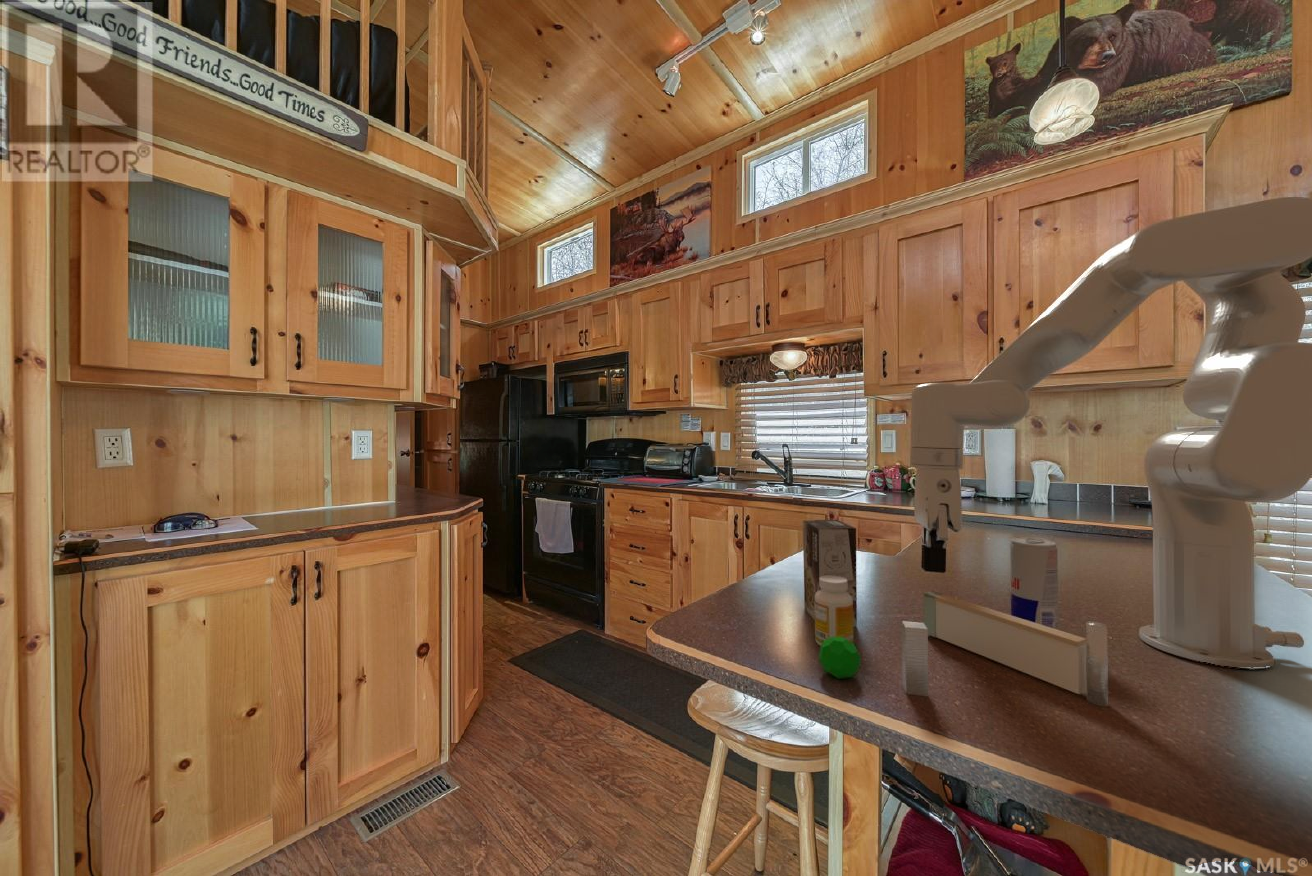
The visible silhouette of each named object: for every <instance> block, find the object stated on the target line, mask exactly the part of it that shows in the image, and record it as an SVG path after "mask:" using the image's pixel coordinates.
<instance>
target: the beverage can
mask: <svg viewBox="0 0 1312 876" xmlns="http://www.w3.org/2000/svg"><path fill="white" fill-rule="evenodd" d="M1010 540H1011V541H1010V544H1009V548H1010V551H1009V555H1010V557H1009V558H1010V561H1009V562H1010V566H1009V567H1010V615H1012V616H1015V617H1018V618H1021V619H1024V620H1028V621H1031V622H1034V623H1037V624H1041V625H1044V626H1047V627H1050V628H1053V629H1057V630H1059V581H1058V580H1059V579H1058V578H1059V573H1058V569H1059V566H1058V560H1059V558H1058V556H1059V555H1058V548H1057V543H1056V542H1055V541H1052V540H1047V539H1040V538H1034V537H1013V538H1012V539H1010Z"/></svg>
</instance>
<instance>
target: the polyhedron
mask: <svg viewBox="0 0 1312 876" xmlns="http://www.w3.org/2000/svg"><path fill="white" fill-rule="evenodd" d="M818 659H819V662H820V663H821V666H822V668H823V670H824V671H826V672H827V673H829V674H830V675H832V676H833V677H835V678H837V679H848V678H852V677H853V676H854V675H855V674H856V673H857V672H858V671H859V670H860V669H859V668H860V666H861V656H860V653H859V652H858V650H857V648H856V646H855V643H854V642H853V643H851V642H850V641H848V640H846V639H844V638H843V637H841V636H839V637H831V638H828V639H826V640H825V641H824V642H823V643H822V644H821V646H820V647H819V655H818Z"/></svg>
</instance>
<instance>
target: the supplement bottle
mask: <svg viewBox="0 0 1312 876" xmlns="http://www.w3.org/2000/svg"><path fill="white" fill-rule="evenodd" d="M819 587H820V588H821V590H819V591H817V592H816V594H815V620H814V639H815V642H816V644H817V645H818V646H820V647H821V644H822V643H823V642H824V641H825V640H826V639H828V638H831V637H839V636H841V637H843V638H844V639H846V640H848V641H850V642H851V643H853V644H854V627H853V600H852V597H851V596H850V595H849V594H848V593H847V592H846V591H847V588H848V582H847V579H846V578H843V577H840V576H832V575H826V576H821V577H820V578H819Z"/></svg>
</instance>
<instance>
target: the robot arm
mask: <svg viewBox="0 0 1312 876" xmlns="http://www.w3.org/2000/svg"><path fill="white" fill-rule="evenodd" d="M1311 258H1312V198H1310V197H1303V196H1284V197H1283V196H1282V197H1275V198H1270V199H1264V200H1260V201H1254V202H1253V201H1252V202H1250V203H1245V204H1244V203H1243V204H1241V205H1234V206H1230V207H1229V206H1228V207H1225V208H1224V207H1223V208H1219V209H1213V210H1208V211H1203V212H1199V213H1197V212H1196V213H1193V214H1187V215H1183V216H1178V217H1174V218H1170V219H1165V220H1162V221H1158V222H1155V223H1152V224H1150V225H1148V226H1146V227H1142V229H1140V230H1138V231H1136V232H1135V233H1133V234H1131V235H1130V236H1129V237H1127V238H1125V239H1124V240H1122V241H1120V242H1119V243H1117V244H1116V245H1114V246H1112V247H1111V248H1110V249H1109V250H1107V251H1106V252H1104V253H1102V255H1101V256H1099V257H1098V258H1097V259H1096V260H1095V261H1094V262H1093V263H1092V264H1091V265H1090V266H1089V267H1088V268H1087V269H1086V270H1085V271H1084V272H1083V273H1082V274H1081V275H1080V276H1079V277H1078V278H1077V279H1076V280H1075V281H1074V282H1073V283H1072V284H1071V285H1070V286H1069V287H1068V288H1067V289H1066V290H1065V291H1064V292H1063V293H1062V294H1061V295H1060V297H1058V298H1057V299H1056V300H1055V301H1054V302H1053V303H1052V304H1051V305H1050V306H1048V308H1047V309H1046V310H1045V311H1044V312H1043V313H1042V314H1041V315H1039V317H1038V318H1037V319H1036V320H1035V321H1033V322H1032V323H1031V324H1030V325H1028V327H1027V328H1025V330H1024V331H1023V332H1021V333H1020V335H1018V336H1017V337H1016V338H1015V340H1014V341H1012V342H1011V343H1010V344H1009V345H1008V346H1007V347H1006V348H1004V349H1003V350H1002V351H1001V352H1000V353H999V354H998V355H997V356H996V357H995V358H994V359H993V360H992V361H991V362H989V364H987V365H986V366H985V367H984V368H983V369H982V370H981V371H980V372H979V373H978V374H977V375H976V376H975V377H974V378H973V379H972V380H971V381H970V382H969V383H968V382H967V383H959V384H958V383H953V382H931V383H930V382H929V383H922V384H918V385H916V386H915V387H913V389H912V392H911V396H910V397H911V399H910V400H911V401H910V440H909V441H910V447H909V448H910V449H909V467H910V468H915V470H916V471H915V477H914V478H915V482H914V484H915V485H914V503H913V506H914V508H913V510H914V511H913V512H914V519H915V521H916V522H917V523H918V524H919V525H920V526H921V543H922V544H921V562H920V563H921V565H920V567H921V568H922V570H923V571H924V572H927V573H928V572H929V573H940V574H944V573H946V571H947V543H948V541H949V533H948V530H951V531H953V532H954V533H959V532H961V531H962V530H963V510H962V509H963V505H962V501H963V500H962V484H961V476H960V470H963V469H964V437H965V436H964V432H965V426H966V427H967V428H970V429H975V430H998V429H1005V428H1009V427H1012V426H1015V425H1016V424H1018V423H1019V422H1021V421H1022V420H1023V419H1024V418H1025V417H1026V415H1028V413H1029V410H1030V407H1031V399H1030V396H1029V394H1028V392H1029V391H1031V389H1032V388H1034V387H1035V386H1036V385H1038V384H1039V383H1040V382H1042V381H1043V380H1045V379H1046V378H1048V377H1050V376H1051V375H1053V374H1054V373H1056V372H1058V371H1060V370H1063V369H1064V368H1066V367H1068V366H1071V365H1072V364H1073V363H1076V362H1077V361H1078V360H1081V358H1083V357H1085V356H1086V355H1087V354H1089V353H1091V352H1092V351H1093V350H1094V349H1096V348H1097V347H1098V345H1100V344H1101V343H1102V342H1103V341H1104V340H1105V339H1106V338H1107V337H1108V336H1110V334H1111V333H1112V332H1114V330H1115V329H1116V328H1117V327H1118V326H1120V324H1122V323H1123V322H1124V321H1125V320H1126V319H1127V318H1128V317H1129V316H1130V315H1131V314H1132V313H1133V312H1134V311H1136V309H1138V307H1140V306H1141V305H1142V304H1143V303H1144V302H1145V301H1146V300H1148V298H1149V297H1150V296H1152V295H1153V294H1154V293H1155V292H1157V291H1159V290H1162V289H1163V288H1166V287H1169V286H1171V285H1173V284H1176V283H1178V282H1181V281H1182V282H1184V283H1185V286H1187V287H1188V288H1190V290H1192V291H1193V292H1194V293H1195V294H1197V295H1198V296H1199V298H1200V299H1201V300H1202V301H1203V302H1204V305H1205V307H1206V309H1207V312H1208V321H1207V326H1206V329H1205V333H1204V336H1203V339H1202V341H1201V344H1200V346H1199V349H1198V352H1197V353H1196V356H1195V359H1194V360H1193V364H1192V365H1191V368H1190V372H1189V374H1188V376H1187V379H1186V381H1185V383H1184V386H1183V391H1182V398H1183V403H1184V405H1185V407H1186V408H1187V409H1188V410H1189V411H1190V412H1191V413H1192V414H1194V415H1196V416H1198V417H1201V418H1204V419H1207V420H1214V421H1222V424H1221V426H1208V427H1207V426H1199V427H1198V426H1197V427H1196V426H1194V427H1186V428H1185V427H1184V428H1180V429H1176V430H1172V431H1169V432H1166V433H1164V434H1163V435H1161V436H1159V437H1158V438H1156V439H1155V440H1154V441H1153V442H1151V444H1150V445H1149V447H1148V449H1147V450H1146V453H1145V456H1144V461H1143V462H1144V465H1143V466H1144V474H1145V478H1146V483H1147V487H1148V490H1149V496H1150V500H1151V509H1152V510H1151V511H1152V557H1153V558H1152V559H1153V560H1152V563H1153V564H1152V566H1153V569H1152V572H1153V573H1152V574H1153V575H1152V576H1153V577H1152V578H1153V579H1152V580H1153V581H1152V582H1153V586H1152V587H1153V624H1149V625H1148V624H1147V625H1144V626H1141V627H1140V628H1139V630H1138V631H1139V633H1138V636H1139V638H1140V639H1141V640H1142V641H1143V642H1144V643H1145V644H1147V645H1149V646H1151V647H1153V648H1155V649H1158V650H1159V651H1160V650H1161V651H1163V652H1164V653H1165V652H1166V653H1168V654H1171V655H1174V656H1177V657H1180V658H1183V659H1184V658H1185V659H1187V660H1192V661H1194V662H1199V661H1200V662H1199V663H1203V662H1207V663H1206V664H1208V663H1211V664H1210V665H1212V664H1215V665H1214V666H1218V665H1220V666H1219V667H1224V666H1230V667H1229V668H1231V667H1251V668H1253V667H1266V666H1272V665H1273V666H1274V664H1275V663H1274V662H1275V661H1274V655H1273V654H1272V653H1271V652H1270V651H1268V650H1267V649H1266V648H1272V647H1273V646H1275V645H1276V646H1280V647H1287V648H1299V649H1300V648H1303V647H1304V646H1305V641H1304V638H1303V636H1301V634H1300V633H1298V632H1292V631H1281V630H1280V631H1279V630H1278V631H1277V630H1276V631H1272V629H1271V628H1270V627H1269V626H1261V625H1259V624H1257V623H1255V622H1256V618H1255V617H1256V616H1255V612H1256V611H1255V606H1256V605H1255V530H1254V523H1253V518H1252V516H1251V512H1250V511H1249V510H1250V509H1249V508H1248V505H1247V503H1270V502H1276V501H1279V500H1283V499H1286V498H1289V497H1291V496H1292V495H1294V494H1296V493H1297V492H1298V491H1300V490H1301V489H1303V488H1304V487H1305V486H1306V484H1308V482H1309V481H1310V480H1311V478H1312V343H1310V342H1300V341H1299V340H1300V336H1301V334H1302V331H1303V327H1304V324H1305V321H1306V314H1307V313H1306V311H1307V310H1306V305H1305V302H1304V299H1303V298H1302V296H1301V294H1300V292H1298V291H1297V289H1296V288H1295V287H1294V286H1293V284H1291V282H1290V281H1289V280H1288V279H1286V278H1285V277H1284V276H1283V275H1282V274H1281V272H1279V271H1282V270H1285V269H1287V268H1291V267H1293V266H1295V265H1299V264H1301V263H1304V262H1305V261H1307V260H1309V259H1311ZM1246 502H1247V503H1246ZM1273 666H1272V667H1273Z"/></svg>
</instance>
